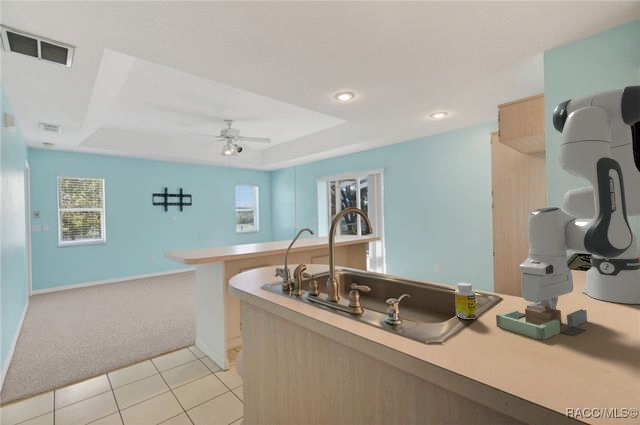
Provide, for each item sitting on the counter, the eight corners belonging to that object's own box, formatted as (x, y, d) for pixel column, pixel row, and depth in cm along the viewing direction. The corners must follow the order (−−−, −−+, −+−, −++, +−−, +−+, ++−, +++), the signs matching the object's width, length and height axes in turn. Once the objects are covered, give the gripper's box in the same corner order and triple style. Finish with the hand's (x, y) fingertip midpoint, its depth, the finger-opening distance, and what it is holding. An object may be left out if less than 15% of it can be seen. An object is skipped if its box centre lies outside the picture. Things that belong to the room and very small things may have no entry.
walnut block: (537, 318, 87) (536, 305, 87) (561, 325, 82) (560, 310, 82) (525, 323, 84) (524, 308, 84) (549, 329, 79) (549, 314, 79)
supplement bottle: (469, 322, 87) (468, 287, 87) (452, 317, 91) (450, 284, 91) (480, 318, 90) (478, 284, 90) (462, 313, 94) (460, 281, 94)
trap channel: (531, 308, 96) (531, 298, 96) (599, 324, 81) (599, 313, 81) (487, 322, 86) (486, 312, 86) (555, 344, 70) (554, 331, 70)
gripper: (554, 259, 93) (556, 303, 93) (515, 267, 84) (518, 316, 84) (578, 261, 87) (581, 308, 87) (540, 270, 78) (543, 322, 78)
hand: (550, 312), depth 85 cm, fingers closed
